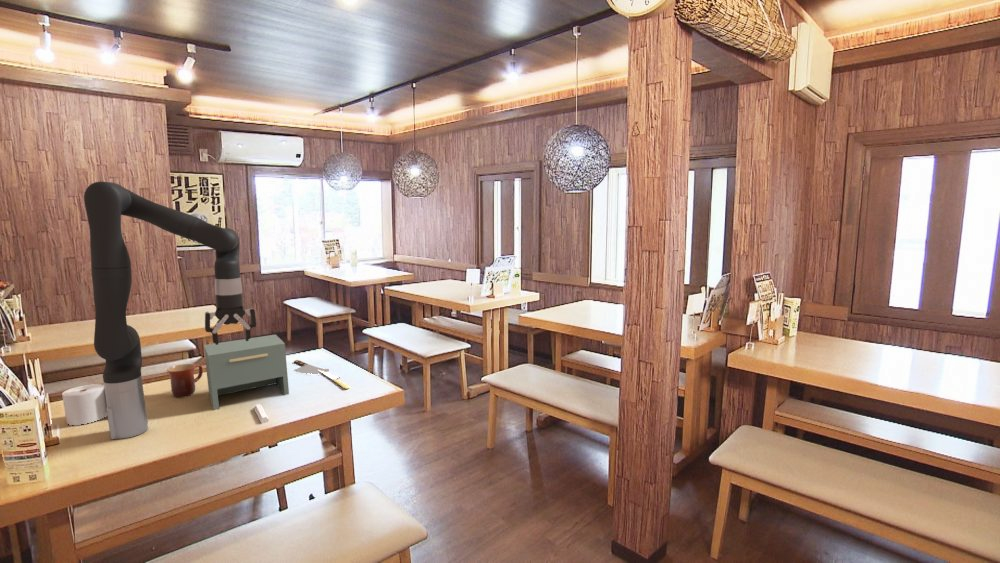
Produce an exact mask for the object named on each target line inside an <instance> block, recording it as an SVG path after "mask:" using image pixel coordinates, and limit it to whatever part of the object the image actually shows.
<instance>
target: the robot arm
mask: <svg viewBox="0 0 1000 563" xmlns="http://www.w3.org/2000/svg"><path fill="white" fill-rule="evenodd" d="M83 201H84V202H83V203H84V206H85V212H86V217H87V220H88V221H87V222H88V227H89V240H90V241H89V243H90V245H89V246H90V247H89V248H90V267H91V268H90V270H91V282H92V291H93V292H92V293H93V302H94V311H95V313H94V314H95V317H94V320H95V321H94V337H93V347H94V350H95V352H96V354H97V355H98V357H100V358H101V359H103V360H105V365H104V366H105V367H104V368H103V372H102V380H103V385H104V388H105V395H106V402H107V416H106V417H107V423H108V430H109V436H110V440H117V439H119V440H120V439H127V438H128V439H129V438H132V437H136V436H139V435H141V434H144V433H146V432H147V431H148V430H149V422H148V416H147V407H146V402H145V401H146V400H145V393H144V392H145V391H144V385H143V376H142V365H143V356H142V344H141V340H140V339H141V338H140V335H139V333H138V331H137V330H136V328H134V327H133V326H132V325H129V324H128V323H127V321H128V320H127V307H128V304H129V299H130V295H131V294H130V293H131V291H132V290H131V289H132V283H133V282H132V281H133V279H132V278H133V276H132V274H133V273H132V263H131V262H132V261H131V258H130V254H129V251H128V248H127V244H126V243H125V239H124V237H123V234H122V216H125V217H131V218H134V219H138V220H141V221H143V222H146V223H148V224H151V225H153V226H155V227H157V228H160V229H161V230H164V231H166V232H167V233H171V234H173V235H175V236H177V237H181V238H184V239H187V240H189V241H194V242H196V243H199V244H201V245H203V246H206V247H208V248H210V249H213V250H215V261H214V266H213V267H214V296H215V311H214V312H209V311H205V312H204V331H205V332H206V333H211V338H212V344H216V345H218V343H219V336H218V335H219V330H220V329H221V328H222V326H224V325H225V326H228V325H237V324H238V323H240V324H241V325H242V326H243V327H244V339H245V341H248V339H250V338H252V337H251V329H253V328H256V327H257V320H256V312H255V309H254V308H253V307H250V308H247V309H245V308H244V299H243V285H242V284H243V283H242V279H241V267H240V266H241V265H240V246H241V245H240V237H239V235H238V233H237V232H236V231H235V230H234V229H232V228H230V227H220V226H217V225H214V224H211V223H209V222H206V220H204V219H202V218H199V217H197V216H194V215H192V214H189V213H185V212H183V211H181V210H177V209H173V208H171V207H167V206H166V205H165V206H164V205H162V204H159V203H158V202H157V203H156V202H154V201H152V200H149V199H146V198H145V197H142V196H141V195H139V194H137V193H135V192H133V191H131V190H130V189H127V188H126V187H124V186H122V185H121V184H119V183H115V182H112V181H111V182H110V181H109V182H108V181H95V182H93V183H91V184H89V185H88V186H87V188H86V189H85V191H84V195H83ZM245 314H247V316H249V317H250V318H249V319H250V323H248V322H246V321H245V319H243V317H244V316H245ZM214 317H216V319H218V320H217V322H216V323H215V325H214V326H213V327H211V320H213V319H214Z"/></svg>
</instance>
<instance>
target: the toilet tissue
mask: <svg viewBox="0 0 1000 563" xmlns="http://www.w3.org/2000/svg"><path fill="white" fill-rule="evenodd" d="M61 394H62V396H61V397H62V400H63V407H64V416H65V422H66V424H67V425H68V424H69V425H68V426H72V425H74V426H82V425H81V424H84V425H88V424H87V423H89V424H92V423H91V422H93V423H94V421H96V422H98V421H97V420H99V421H101V420H103V419H105V418H106V417H108V416H107V402H106V395H105V388H104V384H101V383H98V384H97V383H94V384H85V385H81V386H80V385H79V386H76V387H73V388H72V387H71V388H69V389H66V390H65V391H63V392H62V393H61ZM105 416H106V417H105ZM104 417H105V418H104ZM102 418H103V419H102ZM100 419H101V420H100Z"/></svg>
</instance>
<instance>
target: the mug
mask: <svg viewBox="0 0 1000 563" xmlns="http://www.w3.org/2000/svg"><path fill="white" fill-rule="evenodd" d="M196 368H198V375H197V376H196V377H195V375H194V373H195V370H196ZM166 371H167V373H168V377H169V379H170V380H169V381H170V387H171V388H170V391H171V394H172V396H173V397H175V398H185V396H186V397H189V396H191V394H192V395H193V394H194V393H195V391H196V383H197V382H199V380H200V379H201V378H202V376H203V371H204V369H203V365H201V364H193V363H184V364H183V363H182V364H176V365H174V366H170V367H168V368H167V369H166Z"/></svg>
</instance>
